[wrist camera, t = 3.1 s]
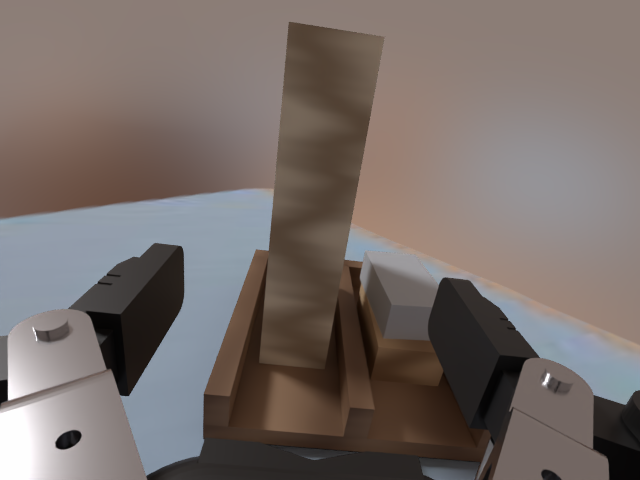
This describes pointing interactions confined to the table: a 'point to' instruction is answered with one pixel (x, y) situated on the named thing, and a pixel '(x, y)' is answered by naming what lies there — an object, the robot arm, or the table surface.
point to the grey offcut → (399, 294)
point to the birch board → (315, 187)
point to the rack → (327, 390)
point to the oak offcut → (396, 353)
